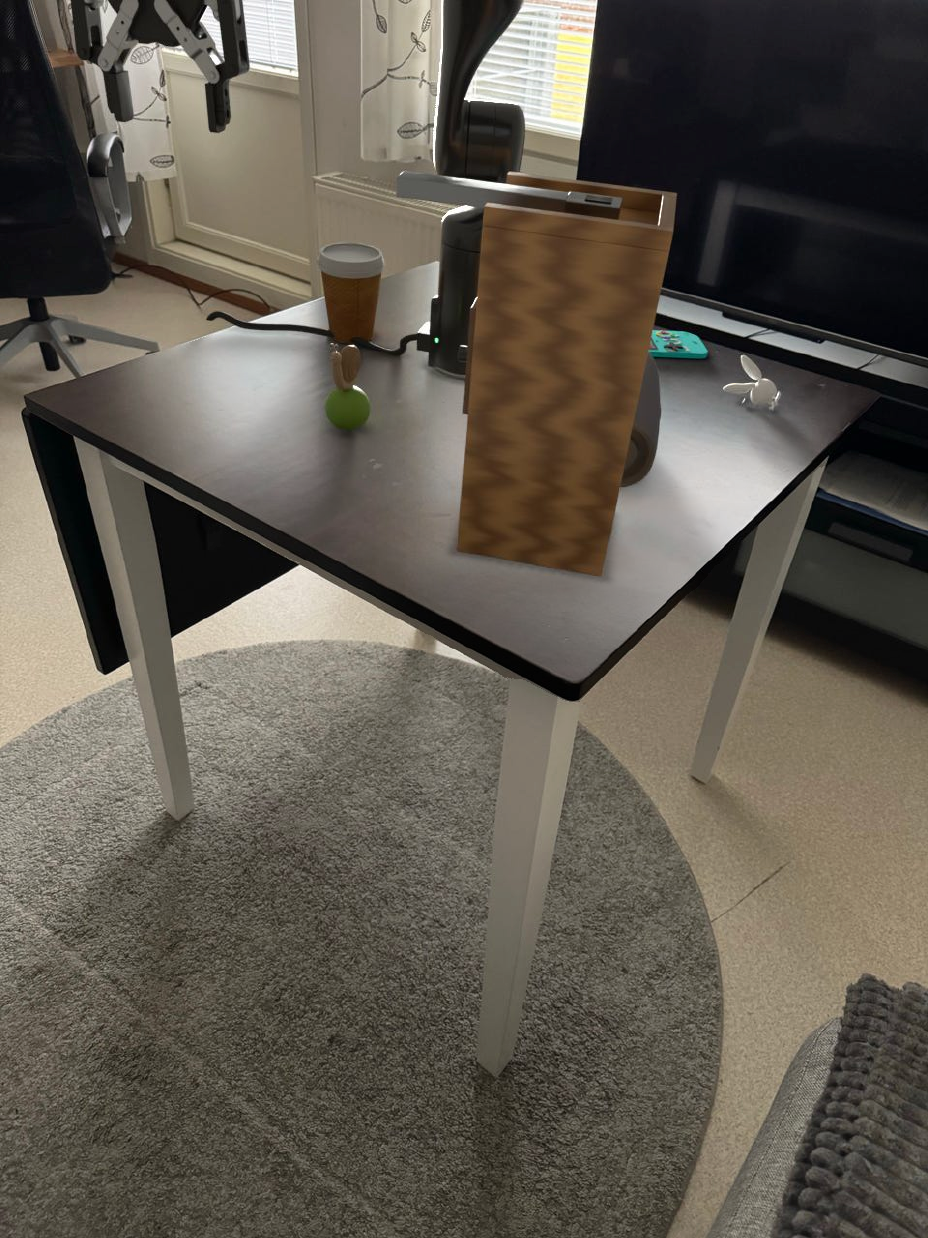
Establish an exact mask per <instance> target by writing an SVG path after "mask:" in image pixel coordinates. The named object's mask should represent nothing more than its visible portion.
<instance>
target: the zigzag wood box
mask: <svg viewBox="0 0 928 1238" xmlns="http://www.w3.org/2000/svg"><path fill="white" fill-rule="evenodd" d="M506 184H510V185H517V186H525V187H532V188H540V189H548V190H555V191H563V192H569V193H570V191H573V192H580V193H588V194H596V195H603V196H611V197H619V198H622V205H621V211H620V216H619V220H614V219H607V218H599V217H592V216H584V215H577V214H569V213H562V212H554V211H547V210H539V209H532V208H524V207H517V206H509V205H502V204H494V203H487V204H486V205H485V206H484V217H483V230H482V243H481V255H480V268H479V280H478V292H477V298H476V300H475V301H474V303H473V305H472V307H471V308H470V321H469V334H468V346H460V348H459V353H458V360H459V361H461V362H466V373H465V380H464V387H463V398H462V399H463V401H462V415H467V417H466V430H465V441H464V442H465V444H464V455H463V468H462V482H461V492H460V493H461V494H460V505H459V506H460V507H459V518H458V529H457V531H458V532H457V541H456V551H457V552H462V553H467V554H473V555H477V556H482V557H483V556H484V557H488V558H489V557H490V558H495V559H501V560H506V561H510V562H511V561H512V562H516V563H517V562H518V563H523V564H528V565H535V566H540V567H546V568H550V569H555V570H562V571H566V572H567V571H568V572H573V573H578V574H583V575H589V576H596V577H602V576H603V572H604V568H605V563H606V559H607V558H606V557H607V552H608V547H609V544H610V538H611V534H612V530H613V523H614V518H615V514H616V510H617V505H618V500H619V495H620V491H621V488H620V486H621V481H622V476H623V471H624V466H625V462H626V457H627V452H628V447H629V442H630V438H631V433H632V428H633V423H634V418H635V413H636V409H637V404H638V399H639V394H640V389H641V385H642V380H643V375H644V370H645V365H646V360H647V356H648V351H649V346H650V341H651V336H652V331H653V330H654V326H655V323H656V317H657V311H658V306H659V302H660V297H661V293H662V288H663V283H664V278H665V273H666V269H667V263H668V259H669V255H670V254H669V253H670V250H671V244H672V240H673V235H674V229H675V228H674V227H675V217H676V206H677V198H678V193H677V192H672V191H664V190H655V189H647V188H640V187H632V186H624V185H617V184H610V183H603V182H595V181H587V180H579V179H572V178H571V179H570V178H563V177H557V176H549V175H541V174H534V173H526V172H525V173H524V172H520V173H518V172H510V171H509V173H508V174H507V180H506Z"/></svg>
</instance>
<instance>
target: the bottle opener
mask: <svg viewBox="0 0 928 1238" xmlns="http://www.w3.org/2000/svg"><path fill="white" fill-rule="evenodd" d="M396 197H397V198H405V199H410V200H411V199H412V200H418V201H424V202H425V201H426V202H433V203H440V204H448V205H454V206H455V205H456V206H461V207H464V206H469V207H476V208H484V206H485V205H486V204H487V203H494V204H502V205H509V206H517V207H524V208H532V209H539V210H547V211H554V212H562V213H569V214H577V215H584V216H592V217H599V218H607V219H614V220H619V216H620V211H621V205H622V198H619V197H611V196H603V195H596V194H588V193H580V192H573V191H570V193H569V192H563V191H555V190H548V189H540V188H532V187H525V186H517V185H510V184H502V183H494V182H487V181H479V180H471V179H464V178H456V177H448V176H441V175H437V174H432V173H425V172H416V171H410V170H403V171H402V172H401V173H400V174H398V175H397V177H396Z"/></svg>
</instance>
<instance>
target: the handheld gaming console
mask: <svg viewBox="0 0 928 1238" xmlns="http://www.w3.org/2000/svg"><path fill="white" fill-rule="evenodd" d="M649 352H650V354H651V355H652V357H653V358H655V357H657V358H680V359H705V358H707V356H708V350H707V348H706V346H705V345H704V343H703V342H702V340H701V339H700V337H699V336H697V335H696V334H693V333H691V332H688V331H683V330H681V331H680V330H663V329H661V330H660V329H653V331H652V336H651V341H650V346H649Z"/></svg>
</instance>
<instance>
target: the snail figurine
mask: <svg viewBox="0 0 928 1238" xmlns="http://www.w3.org/2000/svg"><path fill="white" fill-rule="evenodd" d="M328 347H329V348H330V356H329V360H330V363H331V374H332V379H333V383H334V385H335V387H334V388H333V389H331V391H330V392H329V394H328V395H327V397H326V399H325V404H324V405H325V407H324V410H325V415H326V417H327V419H328V420H329V422H330V423H331V424H332V425H333V426H334V427H336V428H337V429H339V430H342V431H347V432H348V431H350V432H351V431H354V430H357V429H360V428H361V427H363V426H364V425H365V424H366V423H367V421H368V419H369V417H370V414H371V403H370V399H369V397H368V395H367V394H366V393H365V391H364V390H363V389H361V388H360V387H358V386H357V385H356V383H357V380H358V376H359V371H360V369H361V364H362V363H361V362H362V361H361V353H360V350H359V348H358V347H357V346H356V345H355V344H348V345H345V346H344V347H343V348H342V349H341V351H340V352H339V351H338V350H339V348H340V346H339V344H337V343H336V344H334V343H331V342H330V343H329V344H328ZM332 349H335V351H333V352H332Z"/></svg>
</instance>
